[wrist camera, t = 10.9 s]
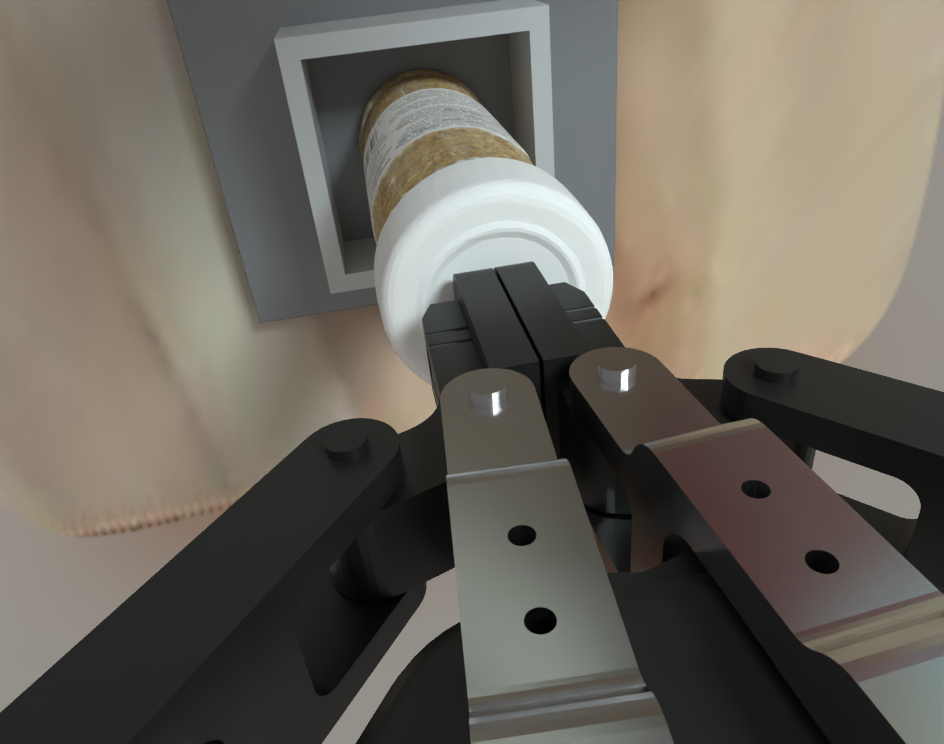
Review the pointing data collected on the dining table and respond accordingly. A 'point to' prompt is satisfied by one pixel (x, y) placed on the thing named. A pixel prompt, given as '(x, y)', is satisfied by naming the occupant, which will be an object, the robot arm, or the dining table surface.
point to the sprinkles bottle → (461, 206)
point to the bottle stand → (342, 105)
